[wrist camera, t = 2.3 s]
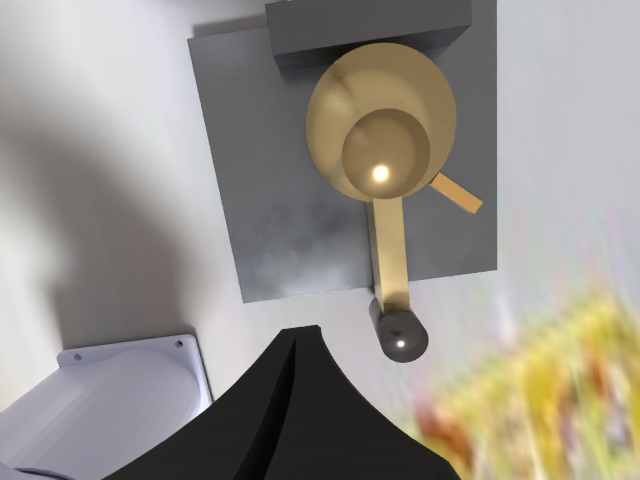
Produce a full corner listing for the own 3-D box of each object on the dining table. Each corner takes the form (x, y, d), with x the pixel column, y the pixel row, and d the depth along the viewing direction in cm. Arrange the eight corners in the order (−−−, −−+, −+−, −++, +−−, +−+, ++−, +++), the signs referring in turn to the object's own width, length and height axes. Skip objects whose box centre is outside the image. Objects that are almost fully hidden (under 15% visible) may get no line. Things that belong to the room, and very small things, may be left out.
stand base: (247, 296, 20) (232, 322, 16) (191, 28, 16) (158, -9, 13) (488, 264, 19) (523, 284, 16) (485, -18, 16) (530, -69, 12)
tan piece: (298, 73, 15) (292, 44, 12) (433, 52, 15) (467, 17, 12) (335, 333, 19) (339, 370, 15) (445, 319, 19) (474, 353, 15)
